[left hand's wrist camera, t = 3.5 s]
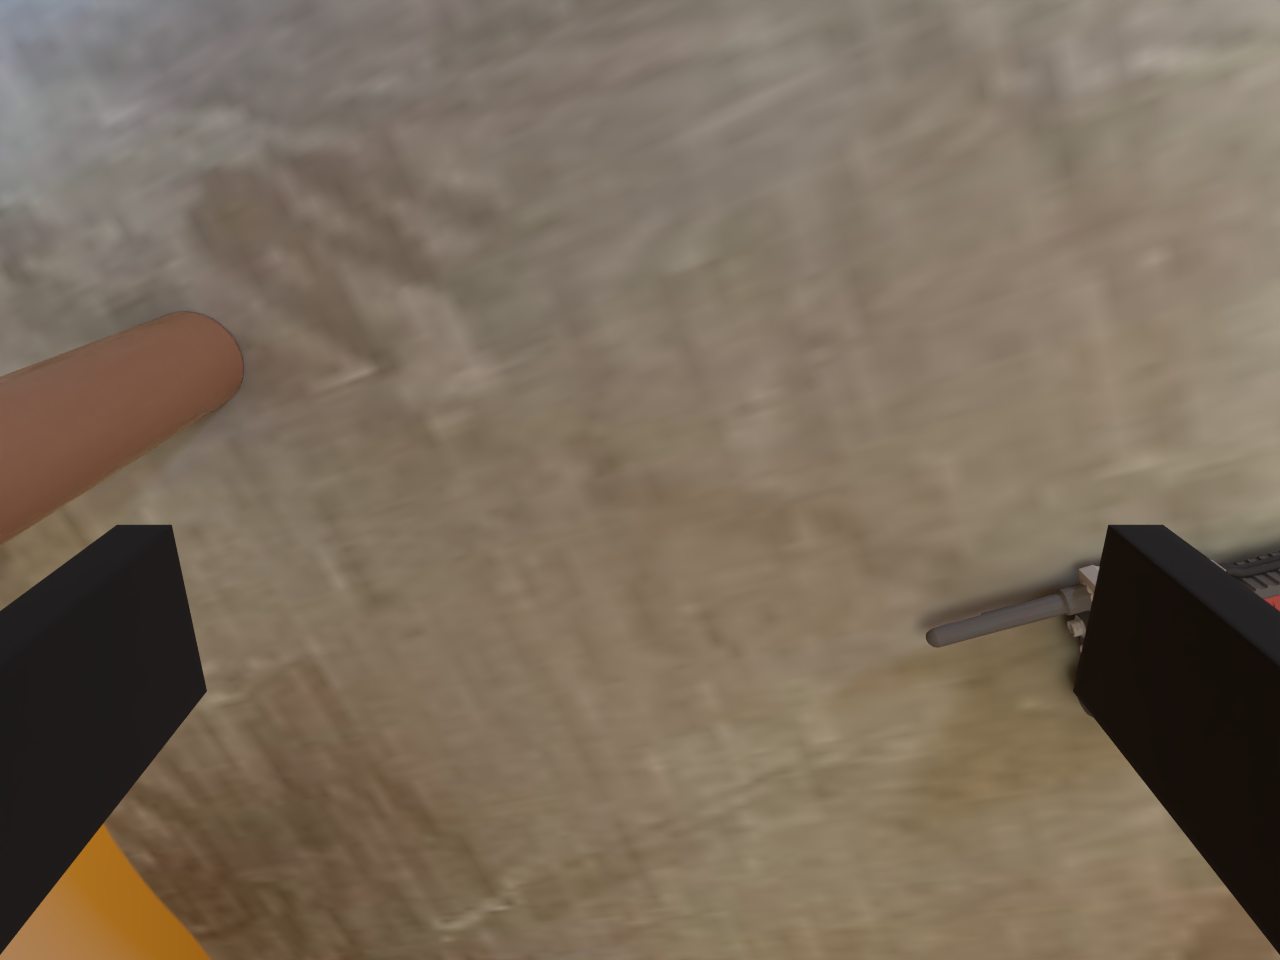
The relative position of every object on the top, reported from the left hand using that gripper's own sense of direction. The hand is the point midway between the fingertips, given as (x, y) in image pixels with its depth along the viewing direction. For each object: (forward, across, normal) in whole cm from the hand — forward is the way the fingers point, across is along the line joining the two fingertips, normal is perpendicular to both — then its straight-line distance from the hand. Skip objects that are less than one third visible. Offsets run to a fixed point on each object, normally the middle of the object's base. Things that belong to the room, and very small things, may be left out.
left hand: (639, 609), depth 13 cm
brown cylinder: (+28, -20, -3) cm, 35 cm away
